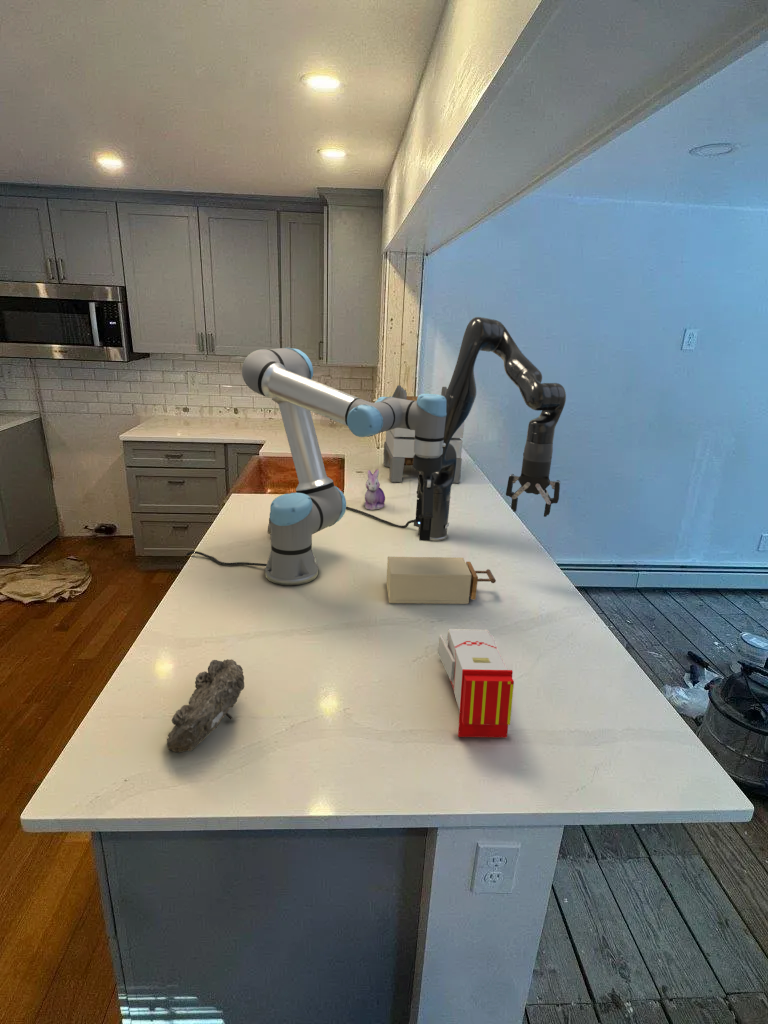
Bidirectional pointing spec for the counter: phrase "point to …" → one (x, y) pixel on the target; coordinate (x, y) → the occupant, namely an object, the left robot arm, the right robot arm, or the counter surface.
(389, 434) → the transformer
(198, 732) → the fossil
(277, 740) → the counter surface
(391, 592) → the cabinet
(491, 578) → the drawer
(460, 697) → the toy
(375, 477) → the figurine
